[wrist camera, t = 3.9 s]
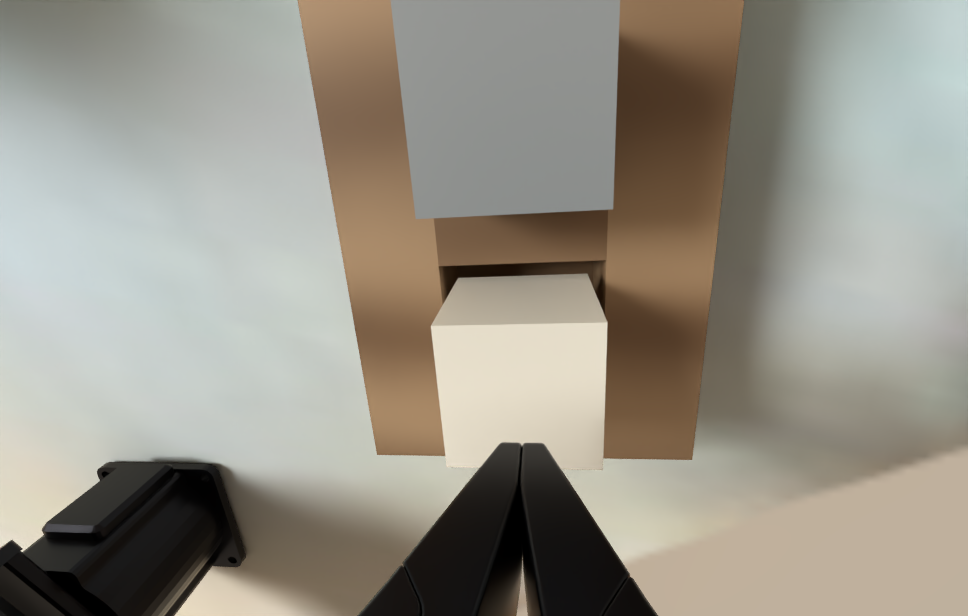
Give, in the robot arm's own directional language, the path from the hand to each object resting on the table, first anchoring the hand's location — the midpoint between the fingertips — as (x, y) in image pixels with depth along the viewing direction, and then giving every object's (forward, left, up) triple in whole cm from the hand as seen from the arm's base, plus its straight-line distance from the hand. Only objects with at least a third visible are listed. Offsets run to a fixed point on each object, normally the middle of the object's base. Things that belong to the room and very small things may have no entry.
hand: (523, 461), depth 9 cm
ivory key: (0, 0, -6) cm, 6 cm away
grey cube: (+6, 0, -6) cm, 9 cm away
